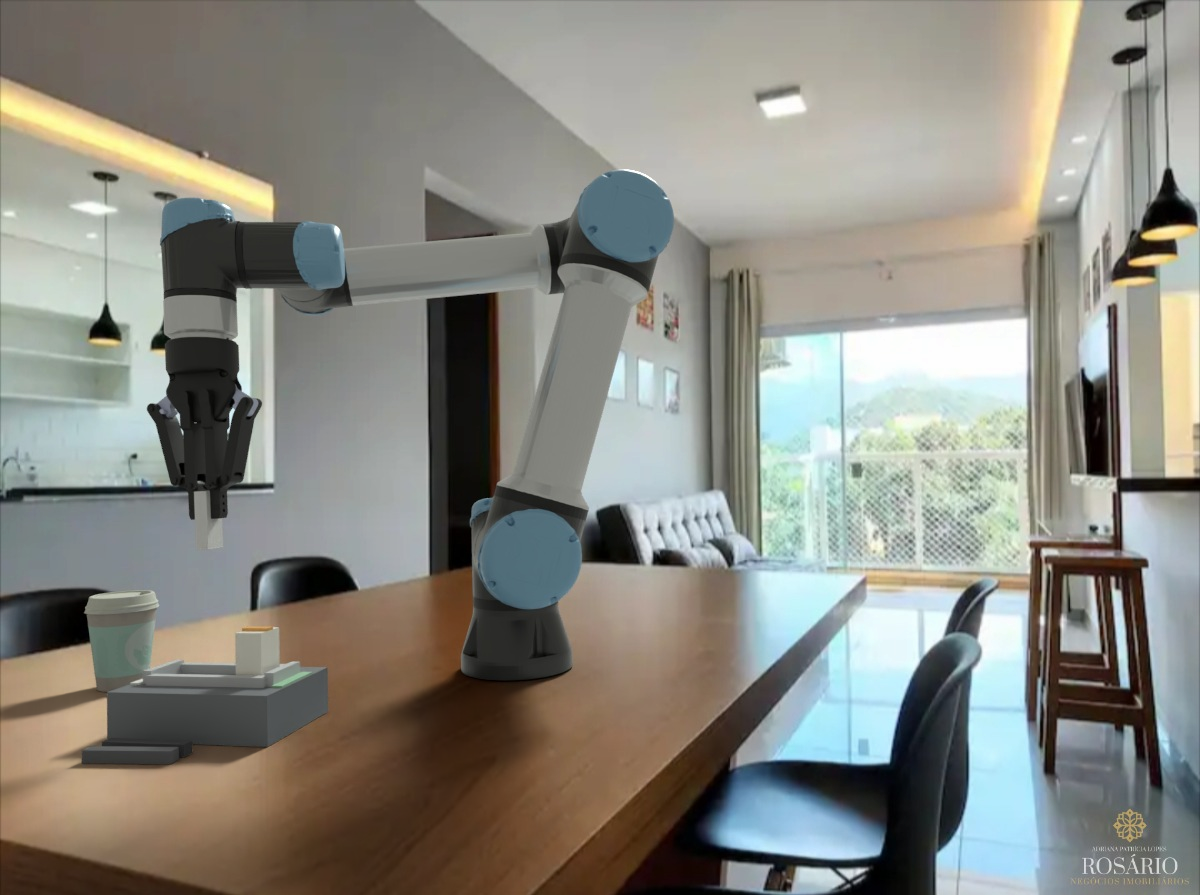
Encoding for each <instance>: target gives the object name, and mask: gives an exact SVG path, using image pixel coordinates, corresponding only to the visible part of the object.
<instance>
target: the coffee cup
mask: <svg viewBox="0 0 1200 895" xmlns="http://www.w3.org/2000/svg"><path fill="white" fill-rule="evenodd" d="M158 607H160V604H159V599H157V595H156V593H155V590H154V591H153V590H144V589H143V590H142V589H141V590H122V591H112V592H111V591H110V592H104V593H98V594H94V595H91V596H89V597H88V601H87V604H86V606H85V607H84V609H85V610H84V612H83V614H85V615H86V618H87V627H88V628H87V629H88V633H89V642H90V648H91V650H90V651H91V656H92V663H93V671H94V677H95V678H94V679H95V685H96V690H97V691H99V692H102V693H107V692H109V691H112V690H115V689H118V688H121V687H124V686H126V685H129V684H130V683H131V682H134V681H137V680H140V679H143V671H144V670H147V669H150V668H151V663H152V653H153V644H154V636H155V626H156V620H157V619H156V618H157V617H156V616H157V610H158Z"/></svg>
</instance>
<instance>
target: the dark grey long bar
mask: <svg viewBox="0 0 1200 895" xmlns="http://www.w3.org/2000/svg"><path fill="white" fill-rule="evenodd" d="M101 746H124V747H179V758H185V757H188V756H189V755H191V754H193V752H194V751H193V744H192V741H191V740H161V739H131V738H109V739H105V740H103V741H101Z"/></svg>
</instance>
